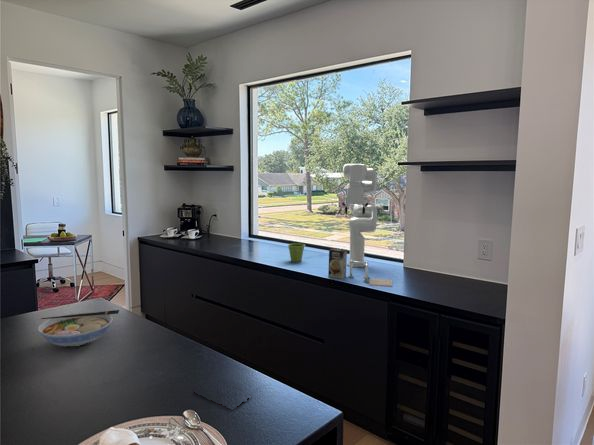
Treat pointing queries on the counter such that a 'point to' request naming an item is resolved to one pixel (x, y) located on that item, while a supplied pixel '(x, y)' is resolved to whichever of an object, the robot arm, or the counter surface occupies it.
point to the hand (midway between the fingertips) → (354, 214)
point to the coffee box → (337, 263)
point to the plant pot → (296, 252)
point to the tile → (381, 282)
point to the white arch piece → (365, 270)
